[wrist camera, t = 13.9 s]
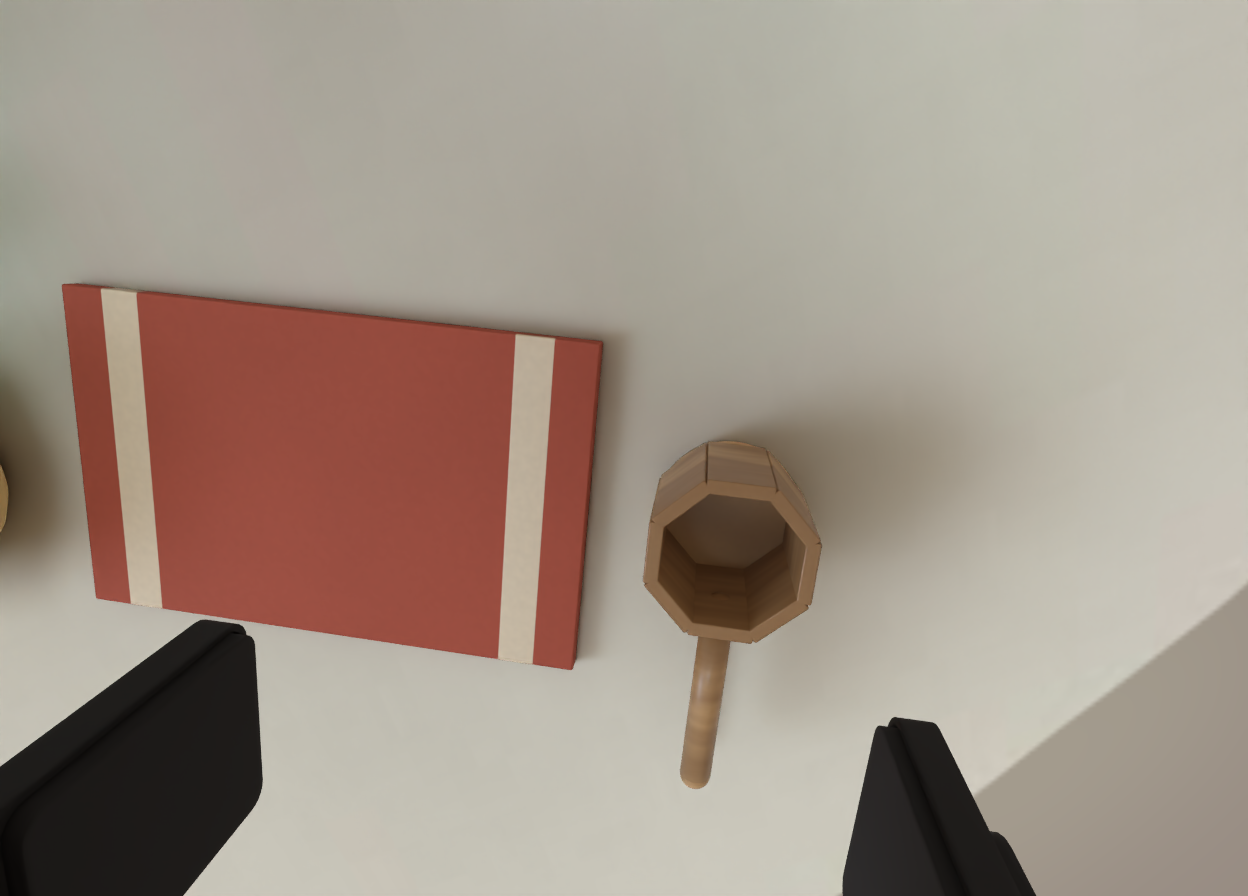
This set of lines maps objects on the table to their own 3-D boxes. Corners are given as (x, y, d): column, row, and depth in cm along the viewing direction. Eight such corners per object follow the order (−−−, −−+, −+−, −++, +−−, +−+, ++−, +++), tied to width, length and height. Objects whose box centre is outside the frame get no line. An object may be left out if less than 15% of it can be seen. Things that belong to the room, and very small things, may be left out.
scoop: (665, 432, 28) (654, 472, 23) (808, 449, 28) (831, 494, 23) (632, 724, 32) (616, 816, 27) (759, 743, 31) (768, 842, 26)
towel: (77, 283, 30) (60, 283, 29) (603, 340, 28) (600, 343, 27) (109, 590, 33) (95, 599, 33) (575, 660, 32) (572, 671, 31)
